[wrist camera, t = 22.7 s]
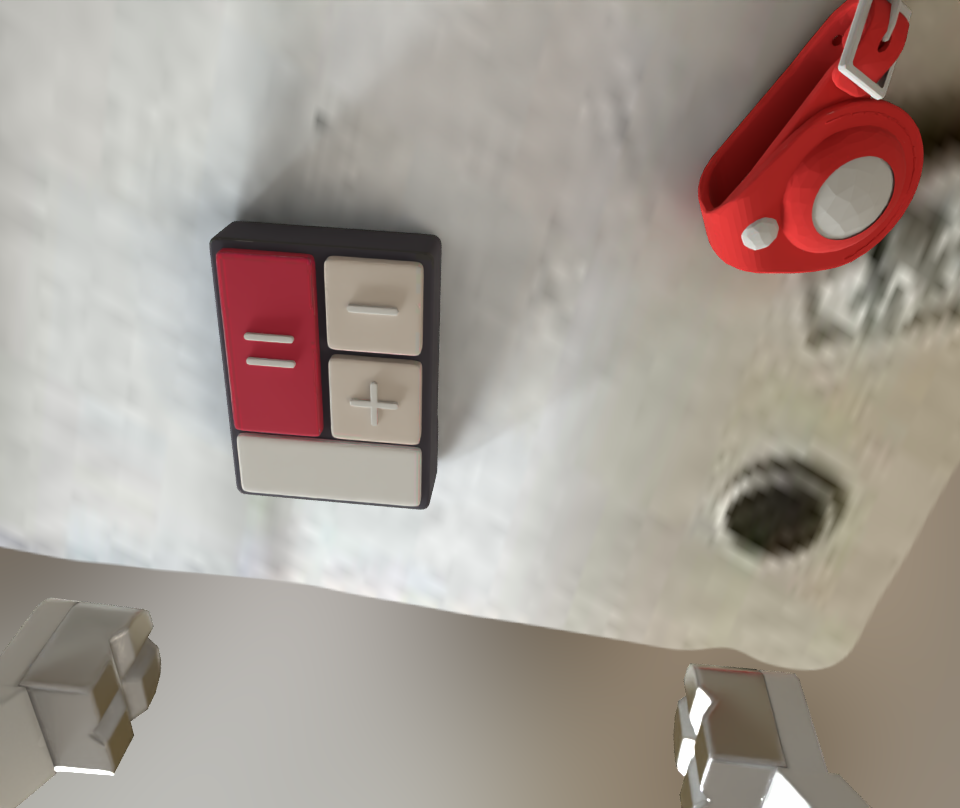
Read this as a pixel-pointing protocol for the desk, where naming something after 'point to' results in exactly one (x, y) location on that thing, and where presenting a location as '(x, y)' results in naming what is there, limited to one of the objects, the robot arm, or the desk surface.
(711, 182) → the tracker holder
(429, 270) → the calculator
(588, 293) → the desk surface
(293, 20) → the desk surface
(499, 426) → the desk surface
